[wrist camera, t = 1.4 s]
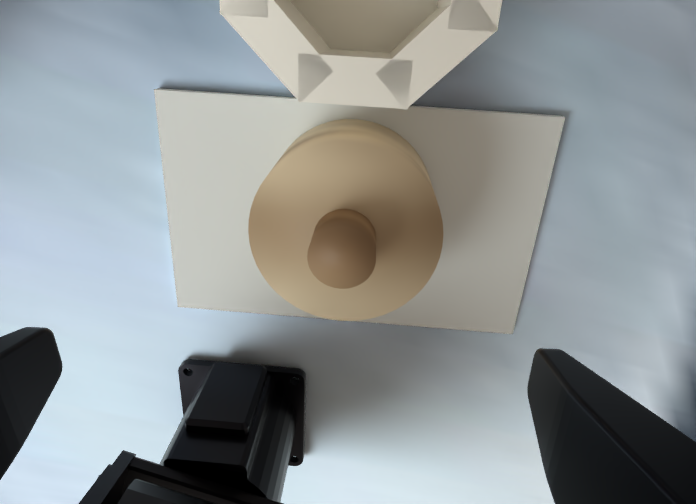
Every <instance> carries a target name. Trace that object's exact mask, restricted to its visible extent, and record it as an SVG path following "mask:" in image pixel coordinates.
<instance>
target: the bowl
mask: <svg viewBox="0 0 696 504" xmlns="http://www.w3.org/2000/svg"><path fill="white" fill-rule="evenodd" d="M501 5H502V0H220V11H219V12H220V15H223V17H224V18H225V19H226V20H227V21H228V22H229V23H230V24H231V26H232V27H233V28H234V29H235V30H236V31H237V32H238V33H239V35H240V36H241V37H242V38H243V39H244V40H245V41H246V42H247V44H248V45H249V46H250V47H251V48H252V49H253V50H254V51H255V53H256V54H257V55H258V56H259V57H260V58H261V59H262V60H263V62H264V63H265V64H266V65H267V66H268V67H269V68H270V69H271V71H272V72H273V73H274V74H275V75H276V76H277V77H278V78H279V80H280V81H281V82H282V83H283V84H284V85H285V86H286V87H287V89H288V90H289V91H290V92H291V93H292V94H293V95H294V96H295V98H296V99H297V100H298V102H300V103H301V102H309V103H324V104H338V105H353V106H368V107H382V108H397V109H405V110H406V109H408V107H409V106H410V105H412V104H413V103H414V102H415V101H416V100H417V99H418V98H420V97H421V96H422V95H423V94H424V93H425V92H427V91H428V90H429V89H430V88H431V87H432V86H433V85H435V84H436V83H437V82H438V81H439V80H440V79H442V78H443V77H444V76H445V75H446V74H447V73H448V72H450V71H451V70H452V69H453V68H454V67H455V66H457V65H458V64H459V63H460V62H461V61H462V60H463V59H465V58H466V57H467V56H468V55H469V54H470V53H471V52H473V51H474V50H475V49H476V48H477V47H478V46H480V45H481V44H482V43H483V42H484V41H485V40H486V39H488V38H489V37H490V36H491V35H492V34H493V33H495V32H497V30H498V22H499V16H500V10H501Z"/></svg>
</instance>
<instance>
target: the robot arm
mask: <svg viewBox="0 0 696 504" xmlns="http://www.w3.org/2000/svg"><path fill="white" fill-rule="evenodd" d="M187 368H189V369H191V370H192V371H189V370H188V369H187ZM61 372H62V361H61V357H60V354H59V351H58V347H57V344H56V341H55V337H54V335H53V333H52V331H51V330H50V329H48V328H40V327H25V328H22V329H20V330H17V331H15V332H12V333H10V334H7V335H4V336H2V337H0V480H1V478H2V477H3V475H4V474H5V472H6V471H7V469H8V468H9V466H10V465H11V463H12V462H13V460H14V459H15V457H16V455H17V454H18V452H19V451H20V449H21V447H22V446H23V444H24V442H25V440H26V439H27V437H28V435H29V433H30V431H31V430H32V428H33V426H34V424H35V422H36V420H37V418H38V417H39V415H40V413H41V411H42V409H43V407H44V405H45V404H46V402H47V400H48V398H49V396H50V394H51V392H52V391H53V389H54V387H55V385H56V383H57V381H58V379H59V378H60V375H61ZM178 372H179V381H180V390H181V398H182V407H183V415H184V417H183V419H182V420H181V422H180V424H179V426H178V428H177V430H176V432H175V434H174V436H173V438H172V440H171V442H170V444H169V446H168V448H167V450H166V452H165V454H164V456H163V458H162V460H161V462H160V464H157V463H154V462H151V461H147V460H144V459H141V458H138V457H135V456H136V454H133V453H130V452H127V451H124V450H123V451H122V452H121V454H120V455H119V456H118V458H117V459H116V460H115V462H114V463H113V464H112V465H110V464H109V465H108V466H107V467H106V469H105V470H104V471H103V473H102V474H101V475H99V477H98V479H97V480H96V482H95V483H94V484H93V486H92V487H91V488H90V490H89V491H88V492H87V493H86V495H85V496H84V497H83V499H82V500H81V501H80V503H79V504H283V503H280V501H281V496H282V491H283V487H284V482H285V477H286V472H287V468H288V465H290V466H298V465H300V464H301V463H302V462H303V458H304V437H305V396H306V375H305V373H304V372H303V371H302V370H300V369H297V368H286V367H274V366H262V365H251V364H239V363H227V362H215V361H203V360H192V359H188V360H185V361H183V362H182V364H181V365H180V367H179V370H178ZM293 377H296V378H298V379H299V380H294V379H293ZM528 399H529V404H530V408H531V413H532V417H533V422H534V426H535V430H536V435H537V439H538V444H539V448H540V453H541V457H542V462H543V466H544V470H545V474H546V478H547V481H548V484H549V487H550V490H551V493H552V496H553V499H554V502H555V504H696V442H695V441H693V440H692V439H690V438H689V437H687V436H686V435H685V434H683V433H682V432H680V431H679V430H677V429H676V428H674V427H673V426H672V425H670V424H669V423H667V422H666V421H664V420H663V419H661V418H660V417H658V416H657V415H656V414H654V413H653V412H651V411H650V410H648V409H647V408H645V407H644V406H642V405H641V404H640V403H638V402H637V401H635V400H634V399H632V398H631V397H629V396H628V395H626V394H625V393H624V392H622V391H621V390H619V389H618V388H616V387H615V386H613V385H612V384H611V383H609V382H608V381H606V380H605V379H603V378H602V377H600V376H599V375H597V374H596V373H595V372H593V371H592V370H590V369H589V368H587V367H586V366H584V365H583V364H581V363H580V362H579V361H577V360H576V359H574V358H573V357H571V356H570V355H568V354H567V353H565V352H564V351H562V350H560V349H542V348H540V349H538V350H537V351H536V352H535V354H534V358H533V363H532V367H531V372H530V377H529V382H528ZM293 456H296V457H293Z"/></svg>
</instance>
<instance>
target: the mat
mask: <svg viewBox="0 0 696 504" xmlns="http://www.w3.org/2000/svg"><path fill="white" fill-rule="evenodd" d="M154 93H155V102H156V111H157V121H158V130H159V139H160V148H161V157H162V166H163V176H164V185H165V194H166V203H167V212H168V221H169V231H170V240H171V249H172V258H173V267H174V276H175V285H176V295H177V304H178V307H185V308H197V309H209V310H221V311H234V312H246V313H258V314H271V315H283V316H295V317H307V318H320V319H326V318H322V317H318V316H315V315H312V314H310V313H307V312H305V311H303V310H301V309H299V308H297V307H295V306H293V305H292V304H290V303H289V302H287V301H286V300H285V299H283V298H282V297H281V296H280V295H279V294H277V293H276V292H275V290H274V289H273V288H272V287H271V286H270V285H269V284H268V283H267V281H266V280H265V278H264V277H263V276H262V274H261V272H260V271H259V269H258V267H257V265H256V263H255V260H254V257H253V255H252V251H251V247H250V243H249V234H248V224H249V215H250V209H251V206H252V203H253V200H254V197H255V195H256V193H257V191H258V189H259V187H260V185H261V184H262V182H263V181H264V179H265V178H266V177H267V175H268V174H269V172H270V171H271V170H272V168H273V167H274V166H275V164H276V163H277V162H278V160H279V159H280V158H281V156H282V155H283V154H284V152H285V151H286V150H287V148H288V147H289V146H290V145H291V144H292V143H293V142H294V141H295V140H296V139H297V138H298V137H300V136H301V135H302V134H303V133H305V132H307V131H308V130H310V129H312V128H314V127H316V126H318V125H321V124H323V123H327V122H330V121H334V120H342V119H359V120H366V121H370V122H374V123H378V124H380V125H382V126H385V127H387V128H389V129H391V130H393V131H394V132H396V133H398V134H399V135H400V136H402V137H403V138H404V139H405V140H407V141H408V142H409V144H410V145H411V146H412V147H413V148H414V149H415V150H416V152H417V153H418V154H419V156H420V157H421V159H422V161H423V163H424V165H425V166H426V169H427V172H428V175H429V177H430V181H431V184H432V187H433V190H434V193H435V196H436V199H437V202H438V205H439V208H440V212H441V217H442V221H443V246H442V250H441V255H440V259H439V261H438V264H437V266H436V269H435V271H434V272H433V274H432V276H431V278H430V279H429V281H428V282H427V283H426V285H425V286H424V288H423V289H422V290H421V291H420V292H419V293H418V294H417V295H416V296H415V297H413V298H412V299H411V300H410V301H408V302H407V303H406V304H404V305H403V306H401V307H399V308H398V309H396V310H394V311H392V312H389V313H387V314H385V315H382V316H379V317H375V318H371V319H366V320H358V321H357V322H369V323H381V324H393V325H406V326H418V327H430V328H443V329H455V330H467V331H480V332H492V333H504V334H513V330H514V326H515V322H516V318H517V314H518V310H519V306H520V302H521V298H522V293H523V289H524V285H525V281H526V277H527V273H528V269H529V265H530V261H531V256H532V252H533V248H534V244H535V240H536V236H537V232H538V228H539V224H540V219H541V215H542V211H543V207H544V203H545V199H546V195H547V191H548V187H549V182H550V178H551V174H552V170H553V166H554V162H555V158H556V154H557V150H558V145H559V141H560V137H561V133H562V129H563V125H564V121H565V117H563V116H558V115H544V114H529V113H514V112H499V111H485V110H470V109H455V108H440V107H426V106H411V105H410V106H409V107H408V109H406V110H405V109H397V108H382V107H368V106H353V105H338V104H324V103H309V102H301V103H300V102H298V100H297V99H296V98H293V97H278V96H263V95H248V94H234V93H219V92H204V91H189V90H174V89H160V88H158V89H154Z"/></svg>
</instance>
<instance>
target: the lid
mask: <svg viewBox="0 0 696 504" xmlns="http://www.w3.org/2000/svg"><path fill="white" fill-rule="evenodd" d="M248 234H249V243H250V247H251V251H252V255H253V257H254V260H255V263H256V265H257V267H258V269H259V271H260V272H261V274H262V276H263V277H264V278H265V280H266V281H267V283H268V284H269V285H270V286H271V287H272V288H273V289H274V290H275V292H276V293H277V294H279V295H280V296H281V297H282V298H283V299H285V300H286V301H287V302H289V303H290V304H292V305H293V306H295V307H297V308H299V309H301V310H303V311H305V312H307V313H310V314H312V315H315V316H318V317H322V318H326V319H331V320H338V321H358V320H366V319H371V318H375V317H379V316H382V315H385V314H387V313H389V312H392V311H394V310H396V309H398V308H399V307H401V306H403V305H404V304H406V303H407V302H408V301H410V300H411V299H412V298H413V297H415V296H416V295H417V294H418V293H419V292H420V291H421V290H422V289H423V288H424V286H425V285H426V283H427V282H428V281H429V279H430V278H431V276H432V274H433V272H434V271H435V269H436V266H437V264H438V261H439V259H440V255H441V250H442V246H443V221H442V217H441V212H440V208H439V205H438V202H437V199H436V196H435V193H434V190H433V187H432V184H431V181H430V177H429V175H428V172H427V169H426V166H425V165H424V163H423V161H422V159H421V157H420V156H419V154H418V153H417V152H416V150H415V149H414V148H413V147H412V146H411V145H410V144H409V142H408V141H407V140H405V139H404V138H403V137H402V136H400V135H399V134H398V133H396V132H394V131H393V130H391V129H389V128H387V127H385V126H382V125H380V124H378V123H374V122H370V121H366V120H359V119H342V120H334V121H330V122H327V123H323V124H321V125H318V126H316V127H314V128H312V129H310V130H308V131H307V132H305V133H303V134H302V135H301V136H300V137H298V138H297V139H296V140H295V141H294V142H293V143H292V144H291V145H290V146H289V147H288V148H287V150H286V151H285V152H284V154H283V155H282V156H281V158H280V159H279V160H278V162H277V163H276V164H275V166H274V167H273V168H272V170H271V171H270V172H269V174H268V175H267V177H266V178H265V179H264V181H263V182H262V184H261V185H260V187H259V189H258V191H257V193H256V195H255V197H254V200H253V203H252V206H251V209H250V215H249V224H248Z"/></svg>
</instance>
